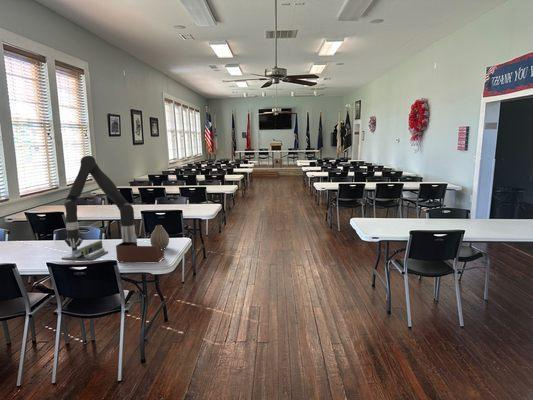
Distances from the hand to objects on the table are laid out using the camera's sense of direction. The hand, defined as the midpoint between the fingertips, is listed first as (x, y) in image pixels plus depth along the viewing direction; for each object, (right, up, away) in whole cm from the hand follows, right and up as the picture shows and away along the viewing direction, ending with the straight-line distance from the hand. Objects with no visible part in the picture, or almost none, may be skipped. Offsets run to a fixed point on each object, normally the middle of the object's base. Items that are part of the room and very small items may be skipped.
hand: (74, 252), depth 249 cm
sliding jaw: (+7, -1, -1) cm, 7 cm away
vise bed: (+8, -2, 0) cm, 8 cm away
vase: (+56, 0, +13) cm, 57 cm away
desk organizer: (+50, -4, -12) cm, 52 cm away
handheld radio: (+11, -1, -1) cm, 11 cm away
